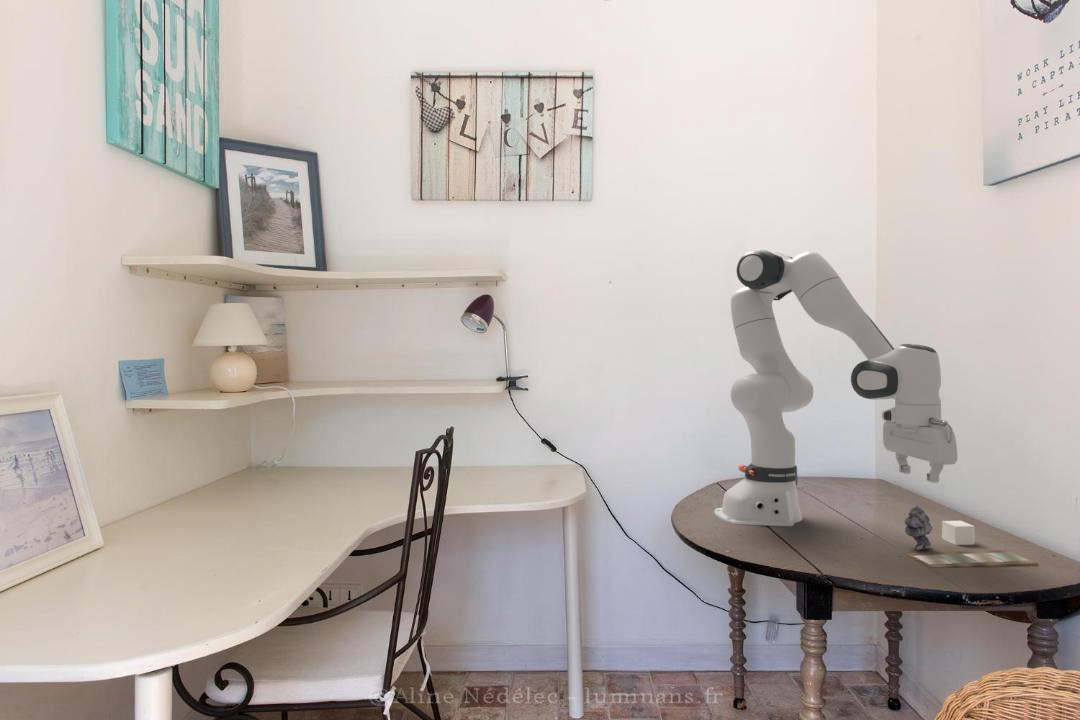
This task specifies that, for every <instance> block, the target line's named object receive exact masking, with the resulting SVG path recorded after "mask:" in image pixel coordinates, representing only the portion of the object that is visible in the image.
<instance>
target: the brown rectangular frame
mask: <svg viewBox="0 0 1080 720" xmlns="http://www.w3.org/2000/svg"><path fill="white" fill-rule="evenodd" d="M905 555H906V556H907V557H909V558H911V559H913V560H915V561H917V562H919V563H921V564H923V565H925V566H926V567H929V568H930V569H942V568H943V569H944V568H945V569H946V568H948V569H949V568H953V567H954V568H987V567H988V568H989V567H990V568H991V567H1025V566H1026V567H1028V566H1032V567H1033V566H1037V567H1038V566H1039V563H1038V562H1036V561H1034V560H1032V559H1029V558H1028V557H1024V556H1022V555H1019V554H1017V553H1015V552H1012V551H1010V550H1007V549H1004V550H1003V549H1002V550H1001V549H1000V550H977V551H976V550H975V551H973V550H972V551H949V552H948V551H947V552H945V551H943V552H921V553H916V552H915V553H906V554H905ZM954 568H953V569H954Z"/></svg>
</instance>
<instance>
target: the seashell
mask: <svg viewBox="0 0 1080 720" xmlns="http://www.w3.org/2000/svg"><path fill="white" fill-rule="evenodd" d="M904 524H905V528H904V530H905V531H904V532H905V533H906V535H907V536H908V537H912V538H913V540H915V542H916V543H917V544H916V545H915V547H914V549H916V550H917V551H921V550H927V549H930V547H931V542H930V539H929V538H928V537H927V535H930V533H931V532H932V530H933V526H932V525H931V524H930V518H929V516H928V515H927V514H926V513H925V511H924V510H923V509H922V508H921V507H919V506H918V505H917V506H914V507H912V508H910V509H909V512H908V516H907V517H906V518H905V520H904Z"/></svg>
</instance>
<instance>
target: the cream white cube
mask: <svg viewBox="0 0 1080 720" xmlns="http://www.w3.org/2000/svg"><path fill="white" fill-rule="evenodd" d="M975 533H976V532H975V525H973V524H971V523H967V522H966V521H964V520H963V521H962V520H941V539H942V540H944V541H946V542H948V543H951V544H953V545H954V546H961V545H963V546H966V545H967V546H970V545H971V546H973V545H975V544H976V543H975V541H976V540H975V539H976V537H975V536H976V535H975Z"/></svg>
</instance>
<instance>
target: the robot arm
mask: <svg viewBox="0 0 1080 720" xmlns="http://www.w3.org/2000/svg"><path fill="white" fill-rule="evenodd" d="M736 275H737V276H736V277H737V279H738V280H739V282H740V283H741V284H742V285H743V287H741V288H739V289H737V290H736V291H735V292H734V293H733V294H732V295H731V299H730V312H731V320H732V326H733V330H734V333H735V338H736V342H737V345H738V349H739V354H740V356H741V357H742V358H743V360H745V361H746V362H747V363H748V364H750V366H751V367H752V368H753V369H754V370H755V372H756V373H752V374H748V375H745V376H743V377H740V378H738V379H736V380H735V382H734V383H733V384H732V386H731V388H730V389H731V390H730V398H731V403H732V404H733V407H734V408H735V409H736V410H737V411H738V412H739V413H740V414H741V415H742V416H743V418H744V420H745V423H746V424H747V428H748V432H749V437H750V444H751V445H750V449H751V462H750V464H749V465H746V464H742V463H740V464H739V465H738V467H737V469H738V470H739V472H742V473H744V478H742V479H741V480H740V481H739V482H737V483H735V485H732V487H730V488H729V489H727V490H726V491H725V493H724V495H723V498H722V507H717V508H715V509H714V515H715V516H716V517H717V518H719V519H720V520H721V521H723V522H725V523H729V524H731V525H740V526H741V525H744V526H745V525H747V526H748V525H749V526H770V527H771V526H776V527H793V526H794V525H795V524H797V523H799V522H801V521H803V516H802V513H801V509H800V505H799V500H798V499H799V498H798V493H797V486H798V466H797V465H796V437H795V436H794V434H793V433H792V432H791V431H790V430H788V429H787V426H786V424H785V422H784V419H783V413H789V412H790V413H791V412H792V413H793V412H797V411H798V410H800V409H803V408H805V407H807V406H808V405H809V404H810V403H811V402H812V400H813V398H814V386H813V384H812V381H811V380H810V379H809V377H807V376H805V375H804V374H803V373H801V372H800V370H798V368H797V366H795V365H794V363H793V361H792V360H791V358H790V356H789V355H788V353H787V351H786V349H785V347H784V344H783V341H782V338H781V333H780V331H779V328H778V324H777V320H776V317H775V314H774V311H773V301H781V299H783V298H784V297H785V296H787V295H789V294H790V293H792V292H793V294H794V295H795V296H796V298H797V300H798V302H799V303H800V305H801V307H802V308H803V310H804V311H805V313H806V314H807V315H808V317H809V318H811V319H812V320H813V321H814V322H816V324H819V325H822V326H824V327H827V328H830V329H833V330H836V331H838V332H840V333H843V334H844V335H846V336H847V337H848V338H850V339H851V340H852V341H853V342H854V344H855V345H856V346H857V347H858V349H859V350H860V351H861V352H862V354H863V355H864V357H865V358H866V360H864V361H863V360H862V361H860V362H859V363H857V364H856V365H855V366H854V368H853V369H852V371H851V373H850V383H851V387H852V389H853V391H854V392H855V393H856V394H857V395H858V396H860V397H862V398H864V399H867V400H873V401H877V400H888V399H893V400H894V407H891V408H888V409H886V410H883V411H882V412H881V418H882V421H884V422H883V424H882V443H883V446H884V448H885V450H886V451H888V452H892V453H895V459H896V461H897V463H898V468H899V469H898V471H899V473H901V474H905V475H906V474H907V475H909V474H911V471H912V470H911V467H912V466H911V465H909V462H908V460H907V458H909V457H911V458H914V459H917V460H918V459H919V460H923V461H926V462H929V467H930V470H929V472H927V473H926V481H927V482H930V483H932V484H935V483H936V484H937V483H939V482H940V474H941V473H942V470H943V469H944V465H946V466H948V465H955V464H956V463H957V461H958V448H957V445H958V444H957V439H956V435H955V432H954V431H953V430H954V429H953V427H952V426H951V425H950V424H949V423H948V421H946V420H943V419H942V399H941V397H940V388H941V385H942V375H941V365H940V364H941V363H940V358H939V355H938V352H937V351H936V349H934V348H933V347H930V346H928V345H927V346H926V345H920V344H912V343H902V344H899V345H898V346H896V347H895V348H894V347H893V345H892V344H891V342H890V341H889V340H888V339H887V337H886V336H885V335H884V333H882V331H881V330H880V329H879V327H878V326H877V325H876V324H875V322H874V321H873V320H872V319H871V317H870V316H869V315H868V314H867V313H866V312H865V311H864V309H863V307H861V305H860V304H859V303H858V301H857V300H856V299H855V297H854V296H853V294H852V293H851V291H850V290H849V289H848V287H847V285H846V284H845V282H844V281H843V280H842V278H841V277H840V276H839V273H837V271H836V270H835V269H834V268H833V266H831V264H830V263H829V261H827V260H826V259H825V258H824V257H823V256H822V254H819V253H818V252H815V251H805V252H803V253H799V254H798V255H796V256H794V257H792V256H789V255H785V254H783V253H780V252H777V251H771V250H767V249H755V250H754V249H753V250H750V251H748V252H746V253H744V254H743V255H742V256H741V257H740V259H739V260H738V262H737V266H736Z"/></svg>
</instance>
